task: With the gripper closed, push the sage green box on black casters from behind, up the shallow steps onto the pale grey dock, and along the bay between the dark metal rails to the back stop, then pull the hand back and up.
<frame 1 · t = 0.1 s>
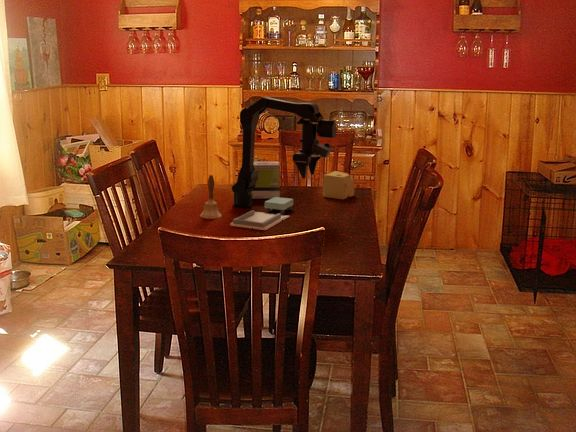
hand: (308, 176, 269), 15 cm above the table, tool pointing down, fingers open, 9 cm apart
dock: (260, 221, 259), on the table
sage green box: (278, 211, 275), on the table
cheese: (337, 196, 303), on the table
tea box: (262, 197, 300), on the table
hand bell: (210, 216, 265), on the table
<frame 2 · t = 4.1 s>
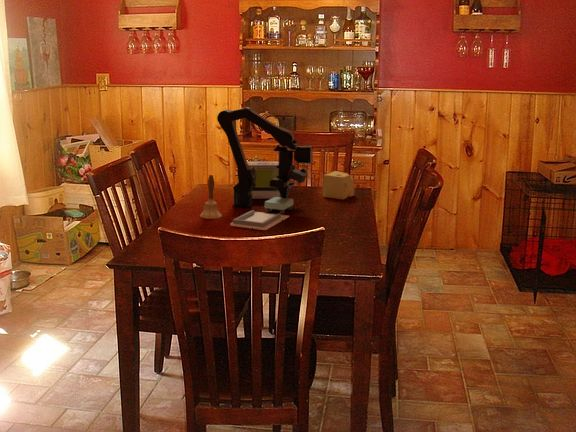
hand: (285, 200, 279), 3 cm above the table, tool pointing down, fingers closed
sage green box: (278, 211, 275), on the table, touching gripper
everything else where it was.
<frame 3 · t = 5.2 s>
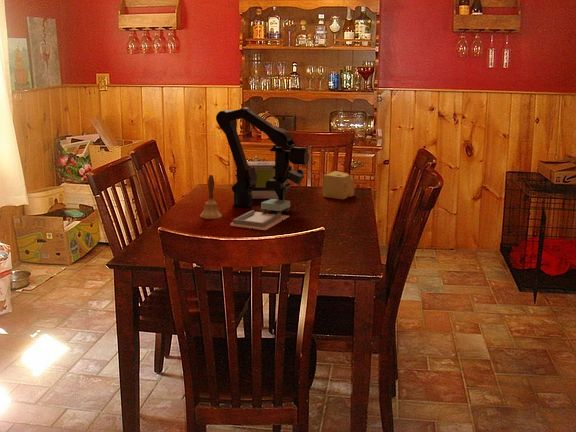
hand: (281, 201, 276), 3 cm above the table, tool pointing down, fingers closed
sage green box: (275, 212, 271), on the table, touching gripper
everything else where it was.
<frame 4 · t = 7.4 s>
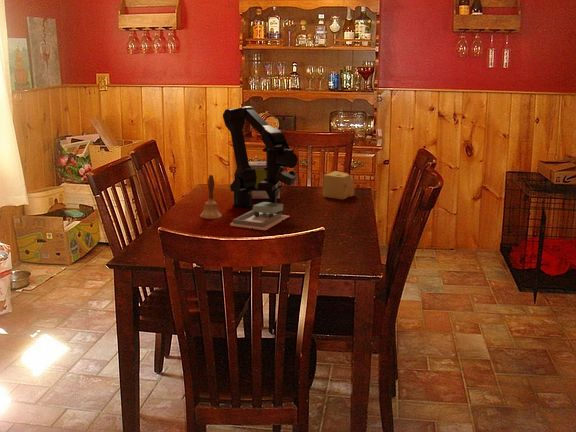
hand: (273, 204, 269), 4 cm above the table, tool pointing down, fingers closed
sage green box: (267, 216, 264), point 1 cm above the table, touching dock, gripper
everything else where it was.
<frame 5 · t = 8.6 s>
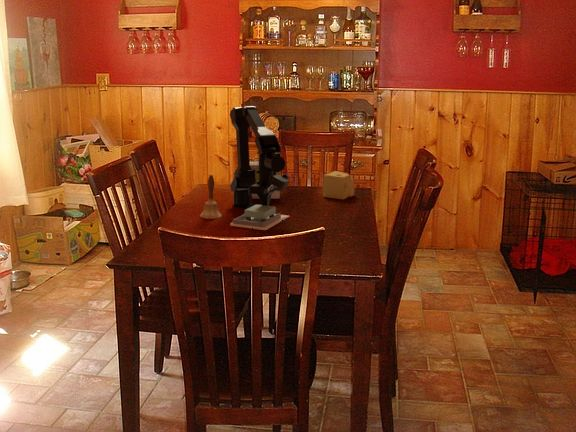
hand: (265, 208, 262), 4 cm above the table, tool pointing down, fingers closed
sage green box: (260, 219, 257), point 1 cm above the table, touching gripper
everything else where it was.
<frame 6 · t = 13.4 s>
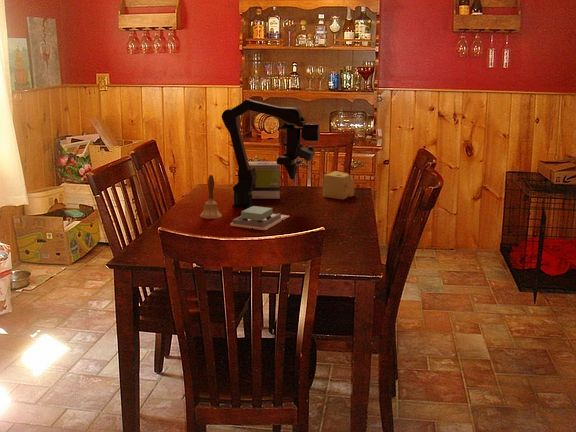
hand: (292, 179, 276), 12 cm above the table, tool pointing down, fingers closed
sage green box: (256, 221, 255), point 1 cm above the table, touching dock
everything else where it was.
at the end: sage green box 0.6 cm from the target spot on the dock, point 0.9 cm above the dock's base; sage green box tilted 0° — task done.
